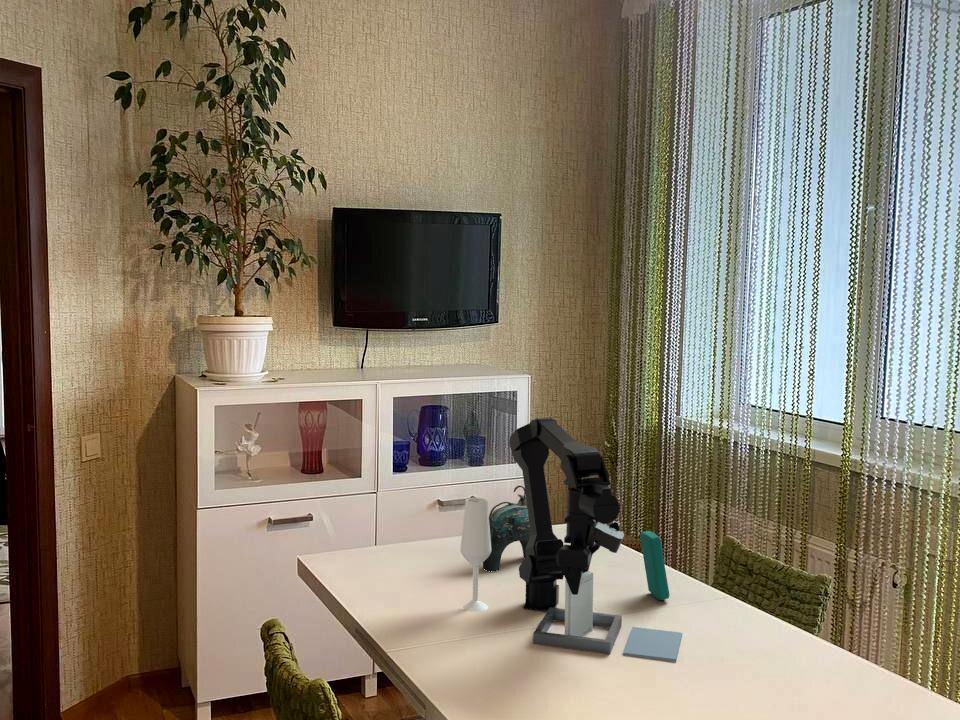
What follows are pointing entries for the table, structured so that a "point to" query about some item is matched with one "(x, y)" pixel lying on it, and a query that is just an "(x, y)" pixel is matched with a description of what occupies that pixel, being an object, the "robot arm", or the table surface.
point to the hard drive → (579, 607)
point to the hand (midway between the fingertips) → (579, 587)
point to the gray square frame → (576, 641)
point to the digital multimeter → (654, 565)
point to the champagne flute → (476, 543)
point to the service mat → (653, 644)
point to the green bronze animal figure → (507, 530)
